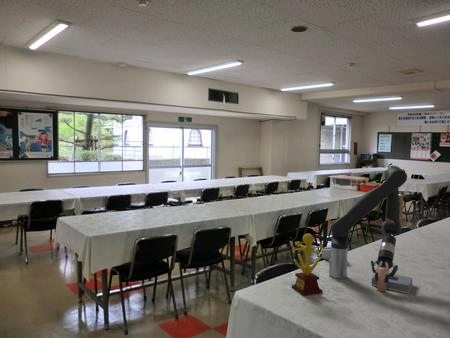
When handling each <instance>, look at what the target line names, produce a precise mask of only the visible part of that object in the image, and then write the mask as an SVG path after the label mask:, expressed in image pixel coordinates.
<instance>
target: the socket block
mask: <svg viewBox="0 0 450 338" xmlns="http://www.w3.org/2000/svg"><path fill="white" fill-rule="evenodd" d="M386 275H387V272H386ZM371 286H373V287H377V288H378V281H376V280H375V274H374V275H373V276H372V278H371ZM412 287H413V277H410V276H403V275H399V274H395V275H394V276H393V277H392V276H390V277H389V281H388V282H387V283H386V290H391V291H396V292H401V293H405V294H410V291H411V290H412V289H411V288H412Z"/></svg>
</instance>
